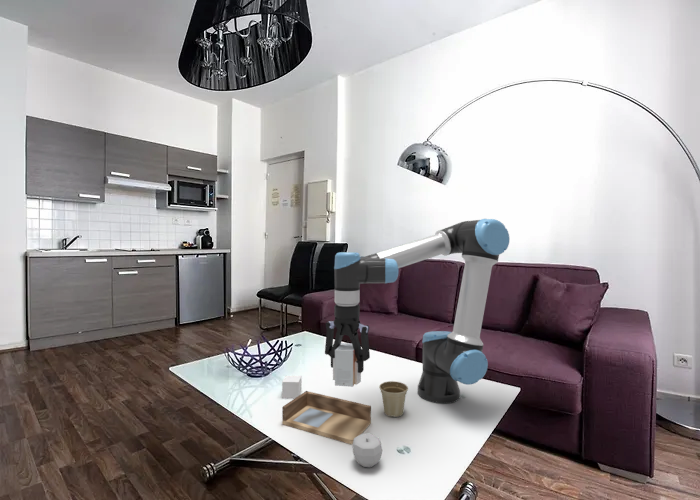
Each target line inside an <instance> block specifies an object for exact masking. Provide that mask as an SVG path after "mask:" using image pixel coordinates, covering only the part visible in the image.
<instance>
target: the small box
mask: <svg viewBox="0 0 700 500" xmlns="http://www.w3.org/2000/svg"><path fill="white" fill-rule="evenodd" d="M356 361H357V358H356V355H355V350H354V348H353V345H352V342H351V343H349V342H341V344H340V345H339V346H338V348H337V349H336V350H335V380H334V386H338V387H351V388H353V387H354V386H355V385H356V384H355V362H356Z"/></svg>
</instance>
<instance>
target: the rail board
mask: <svg viewBox="0 0 700 500" xmlns="http://www.w3.org/2000/svg"><path fill="white" fill-rule="evenodd" d="M281 414H282V417H281V418H282V419H281V420H282V421H281V422H282V424H281V425H284V426H288V427H291V428H294V429H297V430H300V431H304V432H308V433H311V434H315V435H319V436H321V437H323V438H328V439H331V440H335V441H338V442H341V443H345V444H348V445H352V444H353V440H354V438H355V437H357V436H359V435H360V434H364V432H365V431H366V430H367V428H368V427H369V426H370V425H371V424H372V406H371V405H368V404H366V403H365V404H364V403H360V402H355V401H352V400H348V399H343V398H338V397H334V396H330V395H325V394H323V393H322V394H321V393H316V392H313V391H308V390H305V391H304V392H303V393H302V392H301V394H300V395H299V396H298V397H296V398H292V400H290V401H289V402H287V403H285V405H282V413H281ZM352 446H353V445H352Z"/></svg>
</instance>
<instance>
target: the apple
mask: <svg viewBox="0 0 700 500" xmlns="http://www.w3.org/2000/svg"><path fill="white" fill-rule="evenodd" d="M352 454H353V457H354V460H355V461H356V463H358V465H360V466H362V467H363V468H372V467H374V466H375V465H376V464H378V463H379V462H380V460H381V458H382V454H383V447H382V443H381V439H380V437H378V436H376V435H375V434H373V433H362V434H360V435H359V436H357V437H355V438H354V440H353V444H352Z"/></svg>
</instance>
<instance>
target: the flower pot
mask: <svg viewBox="0 0 700 500" xmlns="http://www.w3.org/2000/svg"><path fill="white" fill-rule="evenodd" d="M378 387H379V391H380V393H381V397H382V406H383V413H384V414H385V415H386V416H388V417H394V418H398V417H401V416H403V414H404V411H405V409H404V408H405V402H406V401H405V400H406V395H407V393H408V390H409V386H407V384H405V383H403V382H401V381H394V380H391V381H390V380H389V381H384V382H382V383H380V384H379V386H378Z"/></svg>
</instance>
